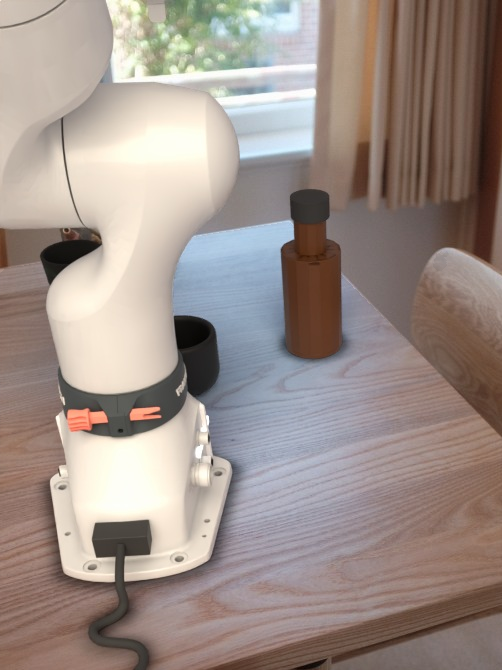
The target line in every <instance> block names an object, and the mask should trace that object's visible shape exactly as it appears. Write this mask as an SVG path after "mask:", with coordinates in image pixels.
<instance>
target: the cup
mask: <svg viewBox="0 0 502 670" xmlns="http://www.w3.org/2000/svg"><path fill="white" fill-rule="evenodd" d="M100 246H101V245H100V244H99V243H97V242H94V241H90V240H83V239H75V240H66V241H62V240H61V241H59V242H58V241H57V242H55V243H52V244H50V245H48V246H46V247H45V248H43V250H42V251H40V254H39V258H40V262H41V265H42V267H43V270H44V273H45V276H46V279H47V283H48V285H49V287H50V285H51V284H52V282H53V280H54V279H55V278H56V276H57V275H58V274H59V273H60V272H61V271H62V270H63V269H65V268H66V267H67V266H68V265H70V264H71V263H73V262H74V261H76V260H78V259H79V258H81V257H83V256H85V255H87V254H89V253H91V252H92V251H94V250H96V249H97V248H98V247H100Z"/></svg>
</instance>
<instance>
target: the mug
mask: <svg viewBox="0 0 502 670" xmlns="http://www.w3.org/2000/svg"><path fill="white" fill-rule="evenodd" d="M174 327H175V336H176V344H177V349H178V350H179V351H180V353H181V354H182V357H183V362H184V364H185V368H186V373H187V379H186V380H187V388H188V389H187V391H188V392H189V394H190V395H192V396H193V397H194V396H198V395H199V394H203V393H204V392H206V391H209V389H210V388H212V387H213V386H214V385H215V384H216V382H217V380H218V378H219V375H220V370H221V367H220V366H221V365H220V364H221V363H220V356H219V355H220V354H219V345H218V337H217V331H216V328H215V326H214V324H213V323H212V322H210V321H209V320H207V319H205V318H203V317H199V316H196V315H188V314H187V315H186V314H179V315H178V314H177V315H174Z"/></svg>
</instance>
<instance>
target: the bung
mask: <svg viewBox="0 0 502 670" xmlns="http://www.w3.org/2000/svg"><path fill="white" fill-rule="evenodd" d="M330 205H331V204H330V194H329V192H326V191H325V190H321V189H316V188H305V189H298V190H296V191H294V192H292V193H290V195H289V209H290V210H289V212H290V218H291V220H292V221H293V220H294V221H295V222H298V223H303V224H315V223H321V222H324V221H326V222H327V220H329V218H330V216H331V214H330V211H331V209H330V207H331V206H330Z"/></svg>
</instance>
